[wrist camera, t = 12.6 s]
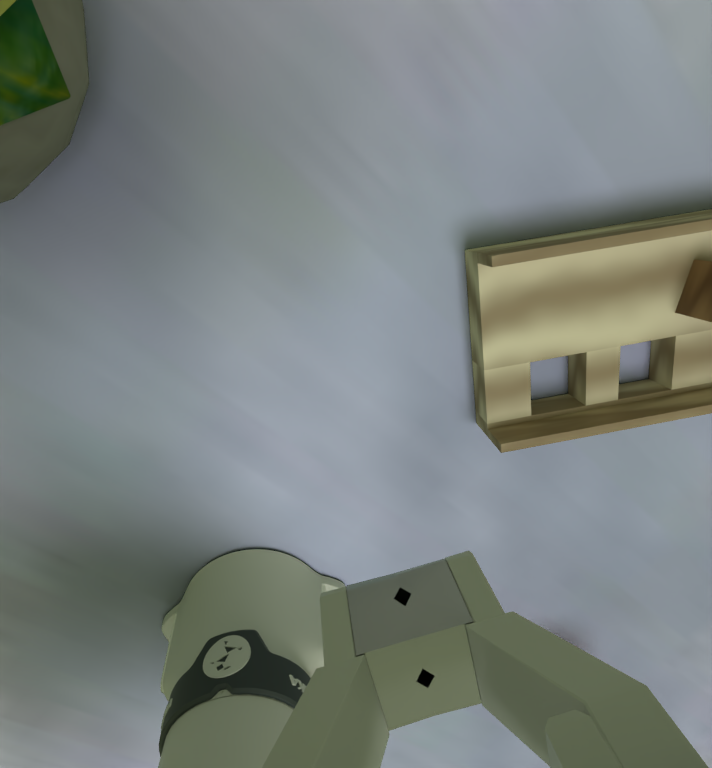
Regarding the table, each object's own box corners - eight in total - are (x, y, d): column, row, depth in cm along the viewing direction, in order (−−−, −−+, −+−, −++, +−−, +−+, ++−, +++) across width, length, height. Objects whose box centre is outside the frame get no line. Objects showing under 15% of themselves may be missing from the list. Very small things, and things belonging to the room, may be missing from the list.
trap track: (706, 380, 47) (773, 408, 40) (476, 423, 46) (506, 458, 39) (726, 206, 41) (807, 205, 35) (464, 249, 40) (496, 257, 33)
